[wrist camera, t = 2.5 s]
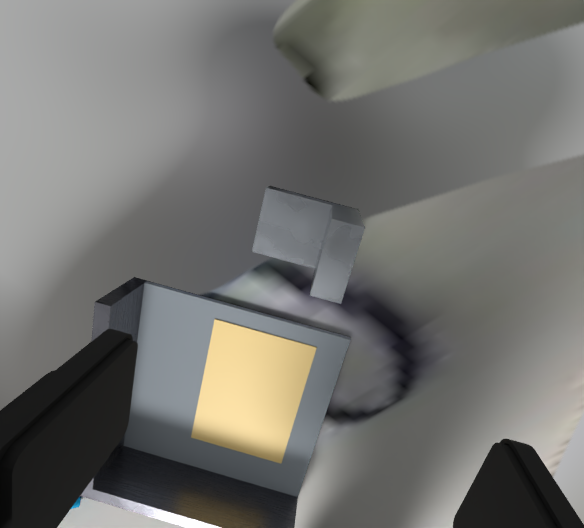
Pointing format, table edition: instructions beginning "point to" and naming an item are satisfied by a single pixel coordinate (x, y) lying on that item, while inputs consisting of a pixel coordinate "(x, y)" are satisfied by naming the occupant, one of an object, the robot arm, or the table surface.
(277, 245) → the bracket
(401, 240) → the table surface
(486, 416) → the table surface
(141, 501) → the tray
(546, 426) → the table surface
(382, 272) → the table surface
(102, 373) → the robot arm
